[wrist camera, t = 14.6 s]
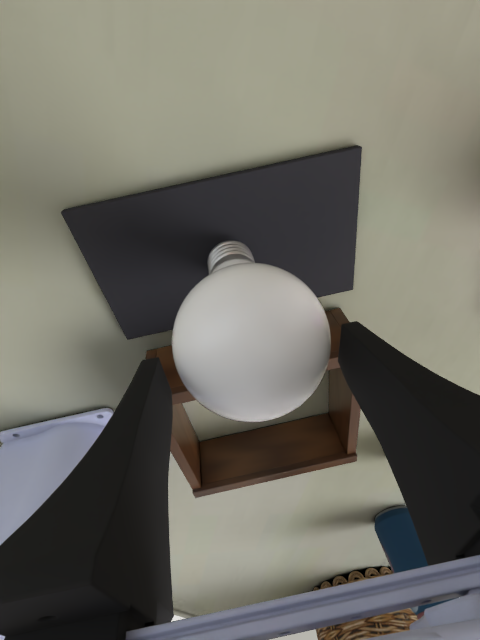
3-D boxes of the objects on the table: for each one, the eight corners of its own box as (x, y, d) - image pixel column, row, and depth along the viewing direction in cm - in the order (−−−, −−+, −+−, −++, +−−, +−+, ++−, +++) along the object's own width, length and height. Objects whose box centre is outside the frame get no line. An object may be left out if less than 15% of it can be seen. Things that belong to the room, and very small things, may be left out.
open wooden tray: (193, 448, 32) (195, 498, 28) (145, 349, 23) (138, 402, 20) (336, 416, 32) (356, 461, 28) (340, 306, 24) (369, 350, 20)
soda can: (362, 523, 51) (402, 624, 42) (388, 503, 48) (438, 608, 38) (395, 523, 54) (441, 619, 44) (422, 504, 50) (478, 603, 41)
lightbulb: (299, 227, 19) (398, 355, 10) (253, 311, 22) (299, 463, 13) (196, 184, 17) (211, 302, 8) (162, 284, 20) (146, 446, 11)
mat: (128, 335, 22) (127, 340, 22) (63, 209, 17) (60, 212, 16) (350, 286, 23) (353, 289, 22) (358, 144, 17) (362, 146, 17)
